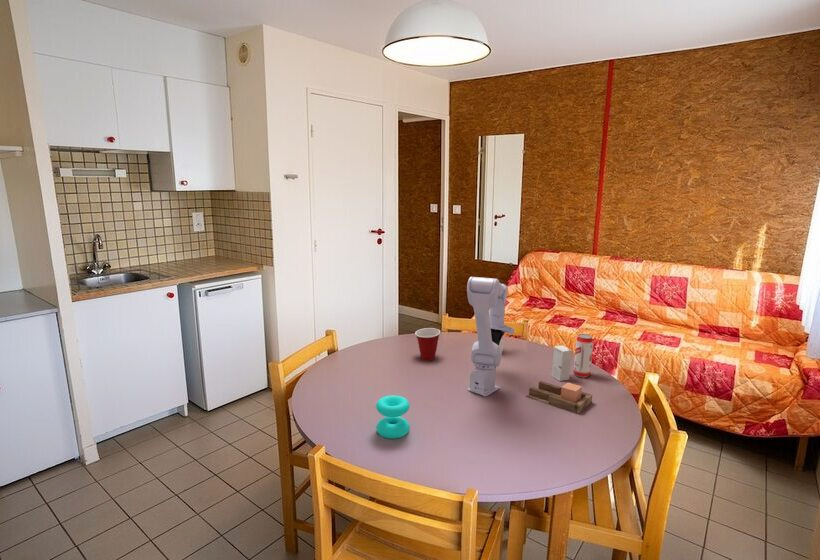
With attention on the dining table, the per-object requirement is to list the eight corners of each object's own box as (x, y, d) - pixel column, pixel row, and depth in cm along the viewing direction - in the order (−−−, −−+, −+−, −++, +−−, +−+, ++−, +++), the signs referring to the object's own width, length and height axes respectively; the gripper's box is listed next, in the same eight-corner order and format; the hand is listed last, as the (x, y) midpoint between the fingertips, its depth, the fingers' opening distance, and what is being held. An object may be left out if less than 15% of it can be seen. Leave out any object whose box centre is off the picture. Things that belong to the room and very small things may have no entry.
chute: (578, 414, 154) (579, 406, 153) (525, 396, 166) (526, 388, 166) (591, 402, 162) (592, 394, 161) (540, 386, 174) (540, 379, 174)
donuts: (394, 412, 134) (369, 402, 140) (394, 444, 136) (369, 432, 142) (416, 400, 141) (391, 390, 148) (416, 430, 143) (391, 420, 150)
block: (574, 406, 157) (575, 391, 156) (560, 402, 161) (561, 387, 160) (580, 401, 161) (581, 386, 160) (566, 397, 164) (567, 382, 163)
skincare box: (550, 375, 184) (552, 345, 182) (560, 374, 185) (562, 344, 183) (560, 381, 178) (562, 351, 176) (570, 380, 180) (572, 350, 177)
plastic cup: (410, 355, 204) (410, 329, 202) (432, 352, 209) (433, 326, 206) (421, 364, 195) (421, 336, 192) (444, 360, 199) (445, 333, 197)
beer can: (587, 372, 187) (591, 333, 184) (592, 378, 181) (595, 339, 178) (571, 371, 188) (574, 333, 184) (575, 378, 182) (578, 338, 178)
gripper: (519, 315, 180) (517, 349, 183) (487, 308, 189) (485, 340, 192) (509, 319, 175) (507, 354, 177) (476, 312, 184) (475, 345, 187)
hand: (495, 347), depth 184 cm, fingers closed
